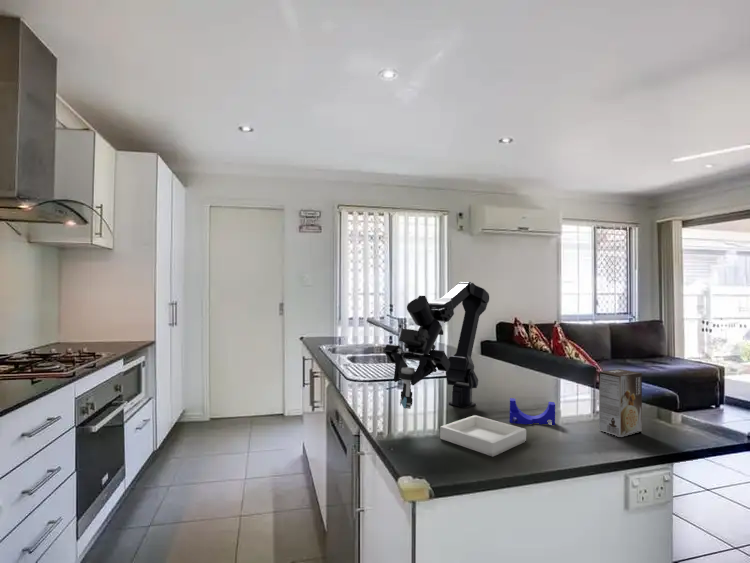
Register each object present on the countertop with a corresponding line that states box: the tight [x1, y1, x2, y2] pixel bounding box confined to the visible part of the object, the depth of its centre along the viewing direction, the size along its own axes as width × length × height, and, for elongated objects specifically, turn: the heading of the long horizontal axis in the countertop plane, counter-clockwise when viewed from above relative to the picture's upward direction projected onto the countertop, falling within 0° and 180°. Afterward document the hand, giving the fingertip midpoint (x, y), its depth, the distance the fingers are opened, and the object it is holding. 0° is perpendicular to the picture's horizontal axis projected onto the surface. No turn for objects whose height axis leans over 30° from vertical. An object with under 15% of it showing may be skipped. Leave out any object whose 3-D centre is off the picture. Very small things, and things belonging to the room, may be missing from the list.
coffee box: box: [598, 368, 643, 435], centre depth 114 cm, size 9×6×16 cm
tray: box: [439, 414, 527, 458], centre depth 106 cm, size 15×15×3 cm
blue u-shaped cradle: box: [509, 397, 556, 426], centre depth 121 cm, size 12×4×6 cm, turn 72°
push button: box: [398, 366, 416, 410], centre depth 113 cm, size 7×5×10 cm
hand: (403, 382), depth 112 cm, fingers closed on push button, 5 cm apart
